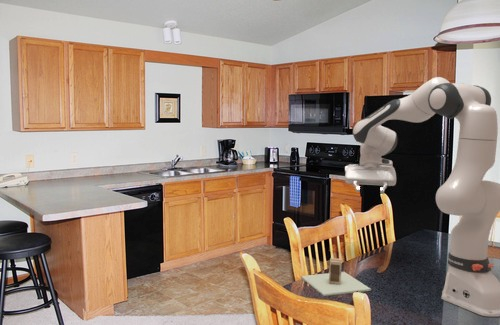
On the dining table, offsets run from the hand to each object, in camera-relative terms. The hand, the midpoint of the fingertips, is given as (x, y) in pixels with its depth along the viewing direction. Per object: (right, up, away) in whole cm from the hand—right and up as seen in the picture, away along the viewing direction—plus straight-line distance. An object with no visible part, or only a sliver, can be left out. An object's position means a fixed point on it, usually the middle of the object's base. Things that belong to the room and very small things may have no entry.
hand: (369, 191), depth 174 cm
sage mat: (-18, -32, -19) cm, 41 cm away
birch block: (-18, -31, -19) cm, 40 cm away
